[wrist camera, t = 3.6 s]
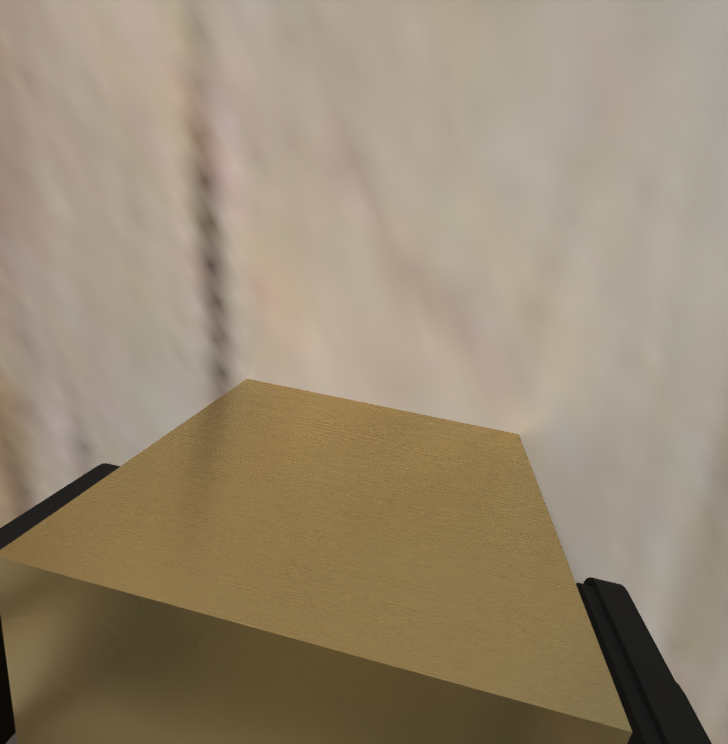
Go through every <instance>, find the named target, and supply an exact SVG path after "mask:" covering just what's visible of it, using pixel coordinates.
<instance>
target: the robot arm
mask: <svg viewBox="0 0 728 744" xmlns="http://www.w3.org/2000/svg"><path fill="white" fill-rule="evenodd" d="M119 467H120V466H116V465H111V464H107V463H105V464H101V465H99V466H97V467H95V468H94V469H92V470H91V471H89V472H88V473H86V474H84V475H83V476H81V477H80V478H78V479H77V480H75V481H74V482H72V483H70V484H69V485H67V486H66V487H64V488H63V489H61V490H59V491H58V492H56V493H55V494H53V495H52V496H50V497H49V498H47V499H45V500H44V501H42V502H41V503H39V504H38V505H36V506H34V507H33V508H31V509H30V510H28V511H27V512H25V513H24V514H22V515H20V516H19V517H17V518H16V519H14V520H13V521H11V522H9V523H8V524H6V525H5V526H3V527H2V528H0V550H1V549H3V548H4V547H5V546H7V545H8V544H10V543H11V542H13V541H14V540H16V539H17V538H18V537H20V536H21V535H23V534H24V533H26V532H27V531H28V530H30V529H31V528H33V527H34V526H36V525H37V524H39V523H40V522H41V521H43V520H44V519H46V518H47V517H49V516H50V515H52V514H53V513H54V512H56V511H57V510H59V509H60V508H62V507H63V506H65V505H66V504H67V503H69V502H70V501H72V500H73V499H75V498H76V497H77V496H79V495H80V494H82V493H83V492H85V491H86V490H88V489H89V488H90V487H92V486H93V485H95V484H96V483H98V482H99V481H101V480H102V479H103V478H105V477H106V476H108V475H109V474H111V473H112V472H113V471H115V470H116V469H118V468H119ZM576 586H577V588H578V591H579V594H580V596H581V599H582V602H583V604H584V607H585V609H586V612H587V615H588V617H589V620H590V622H591V625H592V628H593V630H594V633H595V636H596V638H597V641H598V643H599V646H600V649H601V651H602V654H603V656H604V659H605V662H606V664H607V667H608V669H609V672H610V675H611V677H612V680H613V683H614V685H615V688H616V690H617V693H618V696H619V698H620V701H621V703H622V706H623V709H624V711H625V714H626V717H627V719H628V722H629V724H630V727H631V730H632V734H631V737H630V739H629V741H628V743H627V744H712V743H711V742H710V740H709V738H708V736H707V734H706V732H705V730H704V729H703V727H702V725H701V723H700V721H699V719H698V717H697V716H696V714H695V712H694V710H693V708H692V706H691V704H690V703H689V701H688V699H687V697H686V695H685V693H684V692H683V690H682V689H681V688H680V686H679V685H678V683H676V682H675V680H674V678H673V676H672V674H671V672H670V670H669V669H668V667H667V665H666V663H665V661H664V659H663V657H662V655H661V654H660V652H659V650H658V648H657V646H656V644H655V642H654V640H653V638H652V637H651V635H650V633H649V631H648V629H647V627H646V625H645V623H644V622H643V620H642V618H641V616H640V614H639V612H638V610H637V608H636V606H635V605H634V603H633V601H632V599H631V597H630V595H629V593H628V591H627V590H626V589H625V587H624V586H622V585H621V584H616V583H612V582H608V581H604V580H599V579H595V578H587V579H586V580H585V581H584V584H581V583H576ZM15 733H16V728H15V721H14V713H13V706H12V698H11V691H10V683H9V676H8V668H7V661H6V653H5V646H4V638H3V631H2V623H1V616H0V744H6V743H7V742H8V741H9V739H10V738H11V737H12V736H13V735H14V734H15Z"/></svg>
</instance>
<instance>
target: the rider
mask: <svg viewBox="0 0 728 744" xmlns="http://www.w3.org/2000/svg"><path fill="white" fill-rule="evenodd" d="M0 616H1V623H2V631H3V638H4V646H5V653H6V661H7V668H8V676H9V683H10V691H11V698H12V706H13V713H14V721H15V728H16V736H17V743H18V744H627V743H628V741H629V739H630V737H631V734H632V730H631V727H630V724H629V722H628V719H627V717H626V714H625V711H624V709H623V706H622V703H621V701H620V698H619V696H618V693H617V690H616V688H615V685H614V683H613V680H612V677H611V675H610V672H609V669H608V667H607V664H606V662H605V659H604V656H603V654H602V651H601V649H600V646H599V643H598V641H597V638H596V636H595V633H594V630H593V628H592V625H591V622H590V620H589V617H588V615H587V612H586V609H585V607H584V604H583V602H582V599H581V596H580V594H579V591H578V588H577V586H576V583H575V581H574V578H573V575H572V573H571V570H570V568H569V565H568V562H567V560H566V557H565V554H564V552H563V549H562V547H561V544H560V541H559V539H558V536H557V534H556V531H555V528H554V526H553V523H552V521H551V518H550V515H549V513H548V510H547V507H546V505H545V502H544V500H543V497H542V494H541V492H540V489H539V487H538V484H537V481H536V479H535V476H534V473H533V471H532V468H531V466H530V463H529V460H528V458H527V455H526V453H525V450H524V447H523V445H522V442H521V439H520V437H519V434H514V433H509V432H504V431H500V430H495V429H490V428H485V427H480V426H475V425H470V424H465V423H461V422H456V421H451V420H446V419H441V418H436V417H431V416H426V415H422V414H417V413H412V412H407V411H402V410H397V409H392V408H387V407H382V406H378V405H373V404H368V403H363V402H358V401H353V400H348V399H343V398H339V397H334V396H329V395H324V394H319V393H314V392H309V391H304V390H300V389H295V388H290V387H285V386H280V385H275V384H270V383H265V382H260V381H256V380H251V379H246V380H245V381H243V382H242V383H240V384H239V385H237V386H236V387H234V388H233V389H232V390H230V391H229V392H227V393H226V394H224V395H223V396H222V397H220V398H219V399H217V400H216V401H214V402H213V403H211V404H210V405H209V406H207V407H206V408H204V409H203V410H201V411H200V412H198V413H197V414H196V415H194V416H193V417H191V418H190V419H188V420H187V421H186V422H184V423H183V424H181V425H180V426H178V427H177V428H175V429H174V430H173V431H171V432H170V433H168V434H167V435H165V436H164V437H162V438H161V439H160V440H158V441H157V442H155V443H154V444H152V445H151V446H149V447H148V448H147V449H145V450H144V451H142V452H141V453H139V454H138V455H137V456H135V457H134V458H132V459H131V460H129V461H128V462H126V463H125V464H124V465H122V466H121V467H119V468H118V469H116V470H115V471H113V472H112V473H111V474H109V475H108V476H106V477H105V478H103V479H102V480H101V481H99V482H98V483H96V484H95V485H93V486H92V487H90V488H89V489H88V490H86V491H85V492H83V493H82V494H80V495H79V496H77V497H76V498H75V499H73V500H72V501H70V502H69V503H67V504H66V505H65V506H63V507H62V508H60V509H59V510H57V511H56V512H54V513H53V514H52V515H50V516H49V517H47V518H46V519H44V520H43V521H41V522H40V523H39V524H37V525H36V526H34V527H33V528H31V529H30V530H28V531H27V532H26V533H24V534H23V535H21V536H20V537H18V538H17V539H16V540H14V541H13V542H11V543H10V544H8V545H7V546H5V547H4V548H3V549H1V550H0Z"/></svg>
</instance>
